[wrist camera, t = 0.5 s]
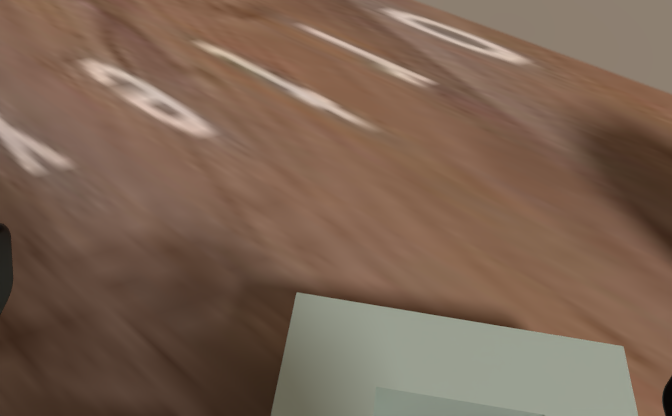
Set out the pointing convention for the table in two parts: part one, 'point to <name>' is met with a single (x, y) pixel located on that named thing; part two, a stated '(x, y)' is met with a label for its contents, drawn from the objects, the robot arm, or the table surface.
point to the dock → (440, 367)
